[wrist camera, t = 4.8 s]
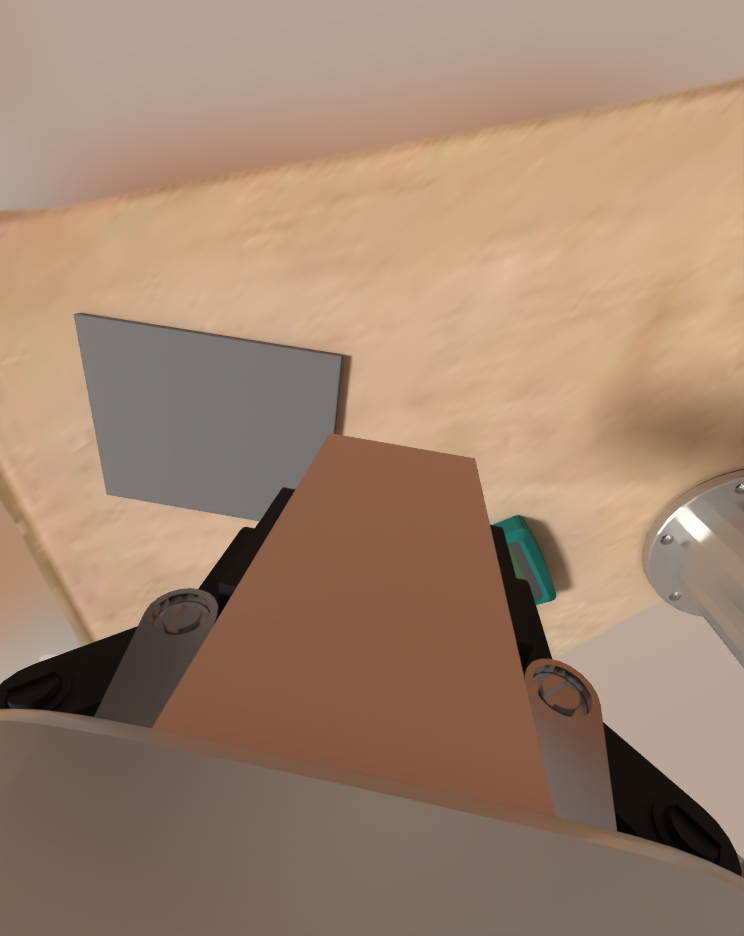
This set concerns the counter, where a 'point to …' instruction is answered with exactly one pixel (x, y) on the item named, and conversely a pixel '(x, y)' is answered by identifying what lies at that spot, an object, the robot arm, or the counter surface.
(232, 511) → the mat
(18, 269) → the counter surface
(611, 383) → the counter surface
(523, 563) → the digital multimeter
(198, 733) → the block
